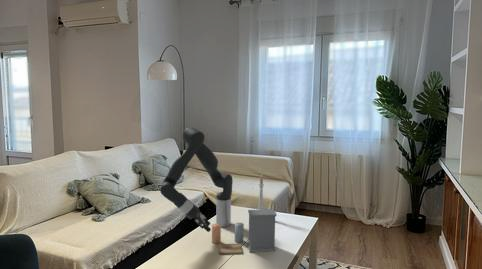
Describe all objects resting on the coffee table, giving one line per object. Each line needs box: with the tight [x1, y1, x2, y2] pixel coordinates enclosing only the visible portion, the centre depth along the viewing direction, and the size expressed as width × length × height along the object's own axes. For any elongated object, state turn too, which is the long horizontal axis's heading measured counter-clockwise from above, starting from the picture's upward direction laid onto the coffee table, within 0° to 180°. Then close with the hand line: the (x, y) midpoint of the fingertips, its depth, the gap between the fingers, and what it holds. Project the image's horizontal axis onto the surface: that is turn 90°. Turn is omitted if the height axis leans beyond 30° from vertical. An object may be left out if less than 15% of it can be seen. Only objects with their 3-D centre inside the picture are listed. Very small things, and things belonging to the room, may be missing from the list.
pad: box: [218, 243, 243, 256], centre depth 183 cm, size 10×12×1 cm
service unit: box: [247, 208, 277, 253], centre depth 184 cm, size 8×14×20 cm, turn 97°
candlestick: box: [257, 174, 265, 210], centre depth 229 cm, size 13×13×30 cm
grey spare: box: [234, 222, 245, 244], centre depth 193 cm, size 5×5×10 cm
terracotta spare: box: [211, 223, 222, 245], centre depth 192 cm, size 5×5×10 cm
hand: (209, 227), depth 191 cm, fingers open, 8 cm apart
